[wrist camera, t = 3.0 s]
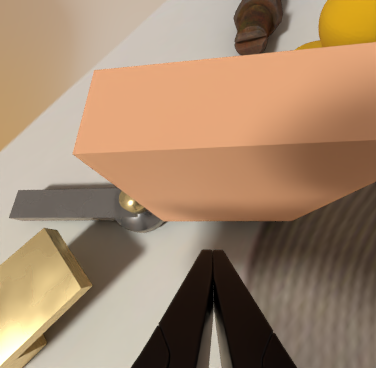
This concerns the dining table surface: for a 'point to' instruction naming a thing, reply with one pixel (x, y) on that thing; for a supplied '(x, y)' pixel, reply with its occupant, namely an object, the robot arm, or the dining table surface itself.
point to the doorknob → (345, 24)
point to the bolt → (256, 24)
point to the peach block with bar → (223, 139)
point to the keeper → (36, 295)
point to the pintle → (130, 204)
